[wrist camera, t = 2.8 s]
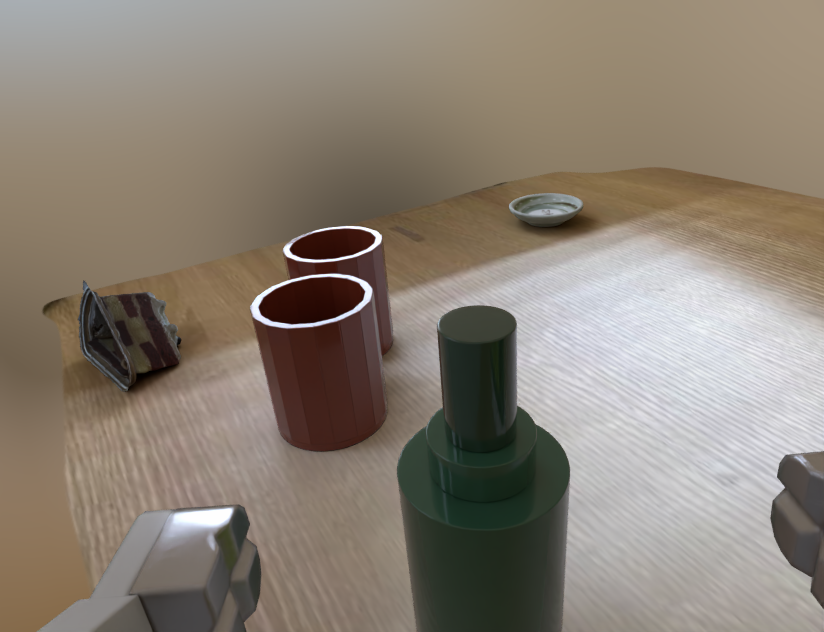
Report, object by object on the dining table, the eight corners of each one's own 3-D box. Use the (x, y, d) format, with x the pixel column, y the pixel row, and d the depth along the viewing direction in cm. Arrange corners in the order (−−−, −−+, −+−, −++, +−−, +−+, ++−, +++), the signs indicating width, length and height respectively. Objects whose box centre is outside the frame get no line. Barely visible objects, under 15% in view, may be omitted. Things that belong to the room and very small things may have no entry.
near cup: (289, 465, 41) (259, 340, 36) (270, 401, 48) (243, 289, 44) (402, 430, 43) (389, 308, 39) (368, 373, 50) (353, 265, 46)
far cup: (314, 378, 51) (293, 270, 46) (295, 335, 58) (275, 238, 53) (406, 353, 53) (395, 248, 48) (377, 315, 60) (365, 220, 55)
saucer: (497, 216, 84) (497, 200, 82) (559, 205, 86) (559, 189, 85) (529, 238, 75) (529, 219, 74) (596, 224, 78) (597, 206, 76)
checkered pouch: (210, 367, 54) (171, 255, 57) (130, 382, 49) (92, 258, 52) (175, 405, 61) (141, 303, 64) (101, 422, 56) (68, 309, 59)
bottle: (455, 761, 24) (422, 400, 16) (401, 628, 30) (356, 306, 21) (588, 696, 26) (621, 341, 18) (515, 581, 31) (513, 268, 23)
